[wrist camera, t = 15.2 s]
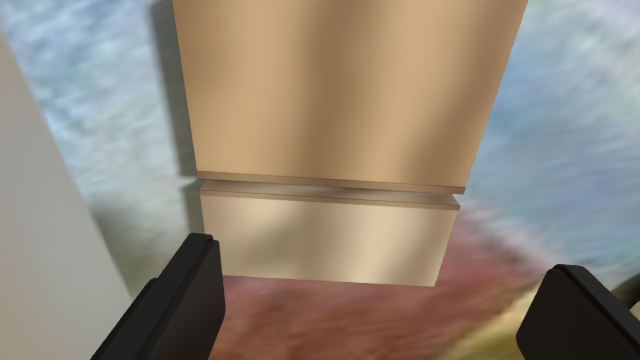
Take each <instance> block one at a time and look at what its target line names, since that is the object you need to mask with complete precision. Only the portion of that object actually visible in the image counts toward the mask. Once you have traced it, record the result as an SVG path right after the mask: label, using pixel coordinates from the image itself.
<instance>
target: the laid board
mask: <svg viewBox="0 0 640 360" xmlns="http://www.w3.org/2000/svg"><path fill="white" fill-rule="evenodd" d="M199 195H200V199H201V207H202V215H203V223H204V231H205V234H211V235H212V236H213V238H214V240H218V241H219V244H220V255H221V265H222V275H231V276H249V277H268V278H286V279H305V280H323V281H342V282H360V283H378V284H397V285H415V286H435V282H436V279H437V276H438V273H439V270H440V266H441V263H442V260H443V257H444V253H445V250H446V247H447V244H448V241H449V237H450V234H451V231H452V228H453V224H454V221H455V218H456V215H457V212H458V211H459V208H460V205H459V204H458V202H457V201H456V200H455V198H454V197H453V195H452V194H448V193H432V192H415V191H399V190H382V189H366V188H349V187H333V186H316V185H299V184H283V183H266V182H250V181H233V180H217V179H207V180H206V181H205V182H204V184H203V185H202V186H201V188H200V189H199Z"/></svg>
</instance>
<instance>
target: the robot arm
mask: <svg viewBox="0 0 640 360" xmlns="http://www.w3.org/2000/svg"><path fill="white" fill-rule="evenodd" d="M224 315H225V297H224V287H223V276H222V265H221V255H220V244H219V241H218V240H214V238H213V236H212V235H211V234H200V233H190V234H189V235H188V237H187V238H186V239H185V241H184V242H183V244H182V245H181V246H180V248H179V249H178V251H177V252H176V253H175V255H174V256H173V257H172V259H171V260H170V262H169V263H168V264H167V266H166V267H165V269H164V270H163V271H162V273H161V274H160V275H159V277H158V278H153V279H151V280H150V281H149V282H148V283H147V284H146V285H145V287H144V288H143V289H142V291H141V292H140V293H139V295H138V296H137V297H136V299H135V300H134V301H133V303H132V304H131V306H130V307H129V308H128V310H127V311H126V312H125V314H124V315H123V316H122V318H121V319H120V320H119V322H118V323H117V324H116V326H115V327H114V328H113V330H112V331H111V332H110V334H109V335H108V336H107V338H106V339H105V340H104V342H103V343H102V344H101V346H100V347H99V348H98V350H97V351H96V352H95V354H94V355H93V356H92V358H91V359H90V360H208V358H209V355H210V353H211V350H212V347H213V345H214V342H215V340H216V337H217V335H218V332H219V330H220V327H221V325H222V322H223V319H224ZM516 341H517V345H518V347H519V349H520V351H521V353H522V354H523V356H524V358H525V360H640V300H639V301H638V302H637V303H636V304H635V305H634V306H633V307H632V308H631V309H630V310H628V309H627V308H626V307H625V306H624V305H623V304H622V303H621V302H620V301H619V300H618V299H617V298H616V297H615V296H614V295H613V294H612V293H611V292H610V291H609V290H608V289H606V288H605V287H604V286H603V285H602V284H601V283H600V282H599V281H598V280H597V279H596V278H595V277H594V276H593V275H592V274H591V273H590V272H589V271H588V270H587V269H586V268H584V267H582V266H577V265H565V264H557V265H555V266H554V267H553V268H552V269H550V270H548V271H547V273H546V275H545V277H544V279H543V281H542V283H541V285H540V287H539V289H538V291H537V293H536V295H535V297H534V299H533V301H532V303H531V305H530V307H529V309H528V311H527V313H526V315H525V317H524V319H523V321H522V323H521V325H520V327H519V329H518V331H517V334H516Z"/></svg>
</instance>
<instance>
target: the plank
mask: <svg viewBox="0 0 640 360" xmlns="http://www.w3.org/2000/svg"><path fill="white" fill-rule="evenodd" d="M527 2H528V0H172V4H173V11H174V17H175V24H176V31H177V38H178V45H179V51H180V58H181V65H182V72H183V79H184V85H185V92H186V99H187V106H188V113H189V119H190V126H191V133H192V140H193V147H194V153H195V160H196V167H197V171H196V172H197V178H200V179H217V180H233V181H250V182H266V183H283V184H299V185H316V186H333V187H349V188H366V189H382V190H399V191H415V192H432V193H448V194H464V191H465V185H466V182H467V179H468V176H469V173H470V171H471V168H472V165H473V162H474V159H475V156H476V153H477V150H478V147H479V144H480V141H481V138H482V135H483V132H484V129H485V126H486V123H487V120H488V117H489V114H490V111H491V109H492V106H493V103H494V100H495V97H496V94H497V91H498V88H499V85H500V82H501V79H502V76H503V73H504V70H505V67H506V64H507V61H508V58H509V55H510V52H511V49H512V47H513V44H514V41H515V38H516V35H517V32H518V29H519V26H520V23H521V20H522V17H523V14H524V11H525V8H526V5H527Z"/></svg>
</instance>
